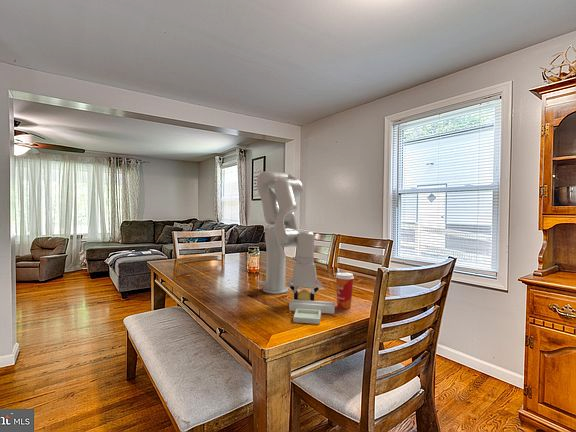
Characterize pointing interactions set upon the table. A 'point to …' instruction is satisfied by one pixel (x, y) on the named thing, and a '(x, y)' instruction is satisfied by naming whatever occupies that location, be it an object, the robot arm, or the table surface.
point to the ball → (304, 295)
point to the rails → (312, 305)
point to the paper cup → (344, 290)
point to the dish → (307, 316)
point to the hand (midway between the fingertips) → (304, 301)
